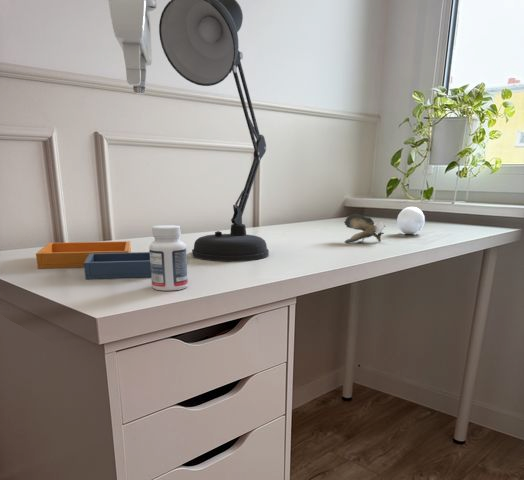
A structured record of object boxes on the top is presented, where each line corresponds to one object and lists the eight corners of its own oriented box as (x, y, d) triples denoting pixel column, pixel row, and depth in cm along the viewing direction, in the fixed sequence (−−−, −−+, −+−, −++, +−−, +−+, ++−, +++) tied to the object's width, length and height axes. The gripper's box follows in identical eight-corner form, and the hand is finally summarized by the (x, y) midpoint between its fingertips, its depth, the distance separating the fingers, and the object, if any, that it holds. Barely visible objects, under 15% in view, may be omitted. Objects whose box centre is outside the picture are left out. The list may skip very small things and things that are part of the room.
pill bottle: (187, 283, 80) (184, 224, 77) (188, 290, 75) (186, 228, 72) (152, 284, 79) (148, 224, 76) (151, 291, 74) (147, 228, 71)
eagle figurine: (374, 234, 131) (340, 227, 130) (385, 211, 126) (350, 204, 124) (378, 254, 127) (343, 248, 125) (390, 232, 121) (354, 224, 119)
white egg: (410, 236, 137) (413, 208, 135) (389, 233, 143) (392, 206, 140) (435, 234, 142) (439, 206, 140) (414, 231, 148) (417, 205, 146)
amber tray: (37, 268, 90) (35, 253, 89) (50, 256, 103) (48, 242, 102) (129, 265, 93) (128, 251, 92) (131, 254, 106) (130, 241, 105)
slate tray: (85, 279, 82) (83, 262, 81) (90, 268, 91) (89, 253, 90) (159, 276, 84) (159, 260, 83) (158, 266, 93) (157, 251, 92)
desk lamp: (178, 269, 90) (164, -38, 75) (158, 248, 113) (145, 10, 98) (307, 263, 97) (318, -19, 82) (264, 244, 120) (266, 21, 105)
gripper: (117, -2, 80) (122, 97, 84) (96, -55, 61) (104, 77, 65) (158, 1, 81) (161, 99, 85) (151, -50, 62) (155, 79, 66)
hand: (137, 89), depth 75 cm, fingers open, 8 cm apart
